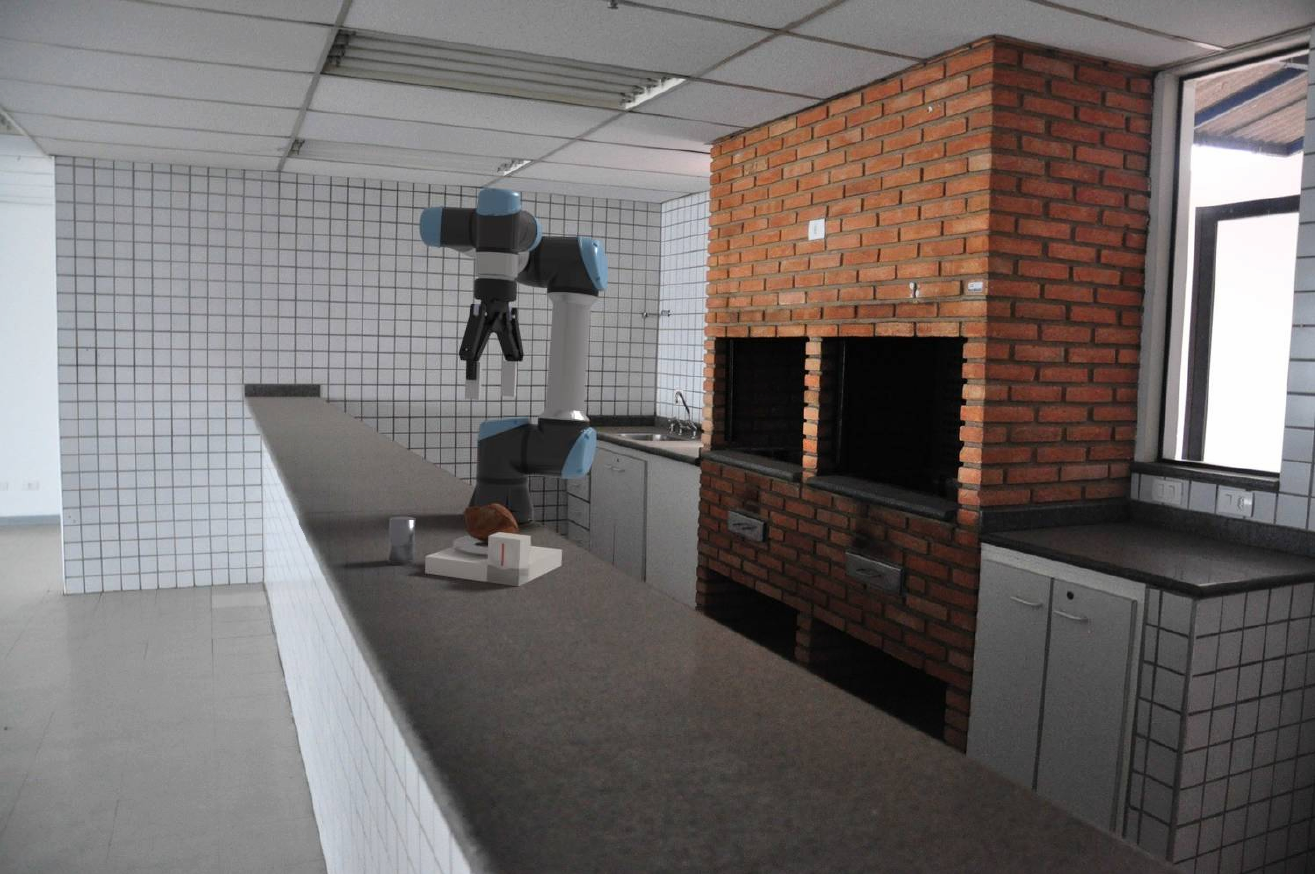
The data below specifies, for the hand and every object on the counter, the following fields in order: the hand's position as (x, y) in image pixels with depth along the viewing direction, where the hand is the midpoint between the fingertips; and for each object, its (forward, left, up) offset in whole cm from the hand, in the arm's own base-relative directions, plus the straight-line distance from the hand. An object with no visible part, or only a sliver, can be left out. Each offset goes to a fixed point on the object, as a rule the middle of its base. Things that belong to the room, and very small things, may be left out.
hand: (491, 397), depth 180 cm
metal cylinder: (+5, -14, -31) cm, 34 cm away
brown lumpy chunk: (0, +1, -26) cm, 26 cm away
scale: (+1, +3, -31) cm, 31 cm away
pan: (0, +1, -28) cm, 28 cm away
